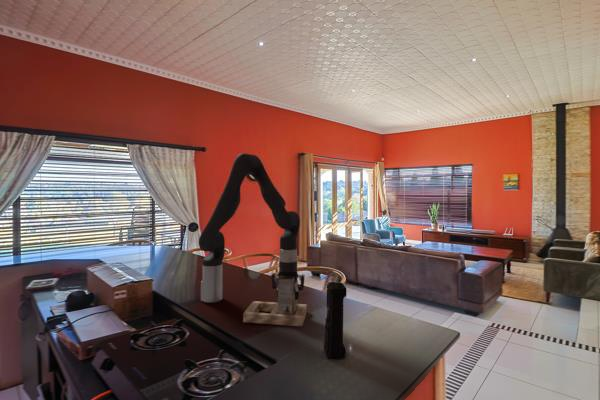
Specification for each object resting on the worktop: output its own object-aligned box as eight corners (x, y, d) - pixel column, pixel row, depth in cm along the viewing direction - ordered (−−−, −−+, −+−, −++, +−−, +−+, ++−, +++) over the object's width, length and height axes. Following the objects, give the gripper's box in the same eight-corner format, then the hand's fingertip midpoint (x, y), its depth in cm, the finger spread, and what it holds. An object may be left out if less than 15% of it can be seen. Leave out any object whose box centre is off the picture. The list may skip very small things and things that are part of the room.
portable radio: (322, 347, 103) (323, 274, 102) (340, 346, 104) (341, 273, 103) (326, 360, 95) (327, 281, 95) (345, 359, 96) (346, 280, 95)
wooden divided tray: (243, 322, 123) (243, 313, 122) (253, 308, 136) (253, 301, 136) (302, 326, 119) (302, 317, 119) (306, 312, 133) (306, 304, 133)
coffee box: (283, 308, 132) (283, 271, 132) (297, 309, 131) (297, 272, 130) (277, 316, 123) (277, 277, 123) (292, 318, 122) (293, 278, 121)
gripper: (269, 260, 124) (268, 301, 124) (304, 262, 122) (303, 303, 122) (273, 256, 131) (273, 295, 132) (306, 258, 129) (306, 297, 129)
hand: (287, 299), depth 127 cm, fingers closed on coffee box, 6 cm apart
